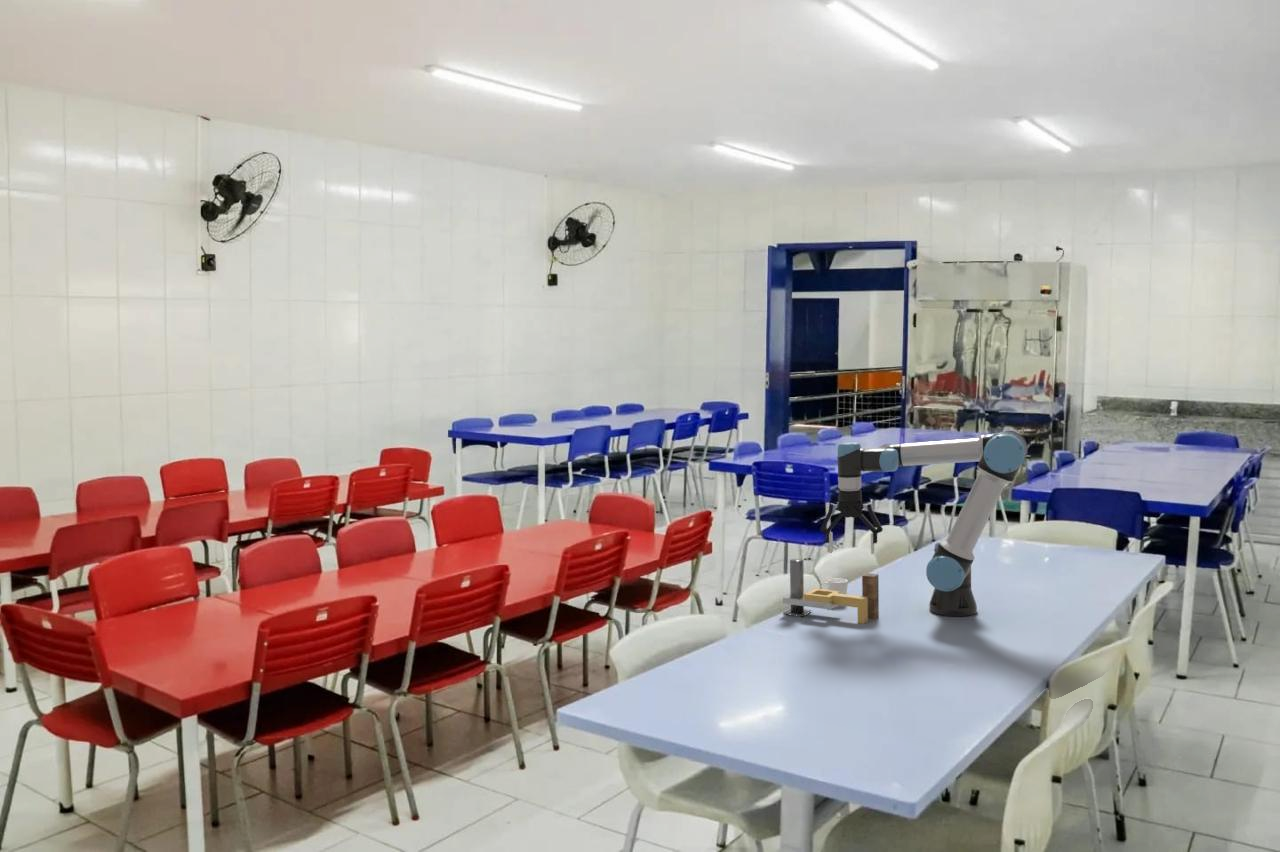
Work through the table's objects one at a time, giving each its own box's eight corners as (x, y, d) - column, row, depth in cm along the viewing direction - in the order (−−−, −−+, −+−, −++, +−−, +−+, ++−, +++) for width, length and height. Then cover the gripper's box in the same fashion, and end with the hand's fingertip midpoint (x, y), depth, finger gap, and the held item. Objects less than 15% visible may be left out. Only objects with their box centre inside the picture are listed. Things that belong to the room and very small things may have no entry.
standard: (841, 615, 349) (841, 561, 347) (831, 621, 341) (830, 566, 340) (793, 609, 358) (792, 556, 357) (781, 615, 351) (781, 561, 349)
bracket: (870, 619, 343) (870, 594, 343) (860, 625, 336) (860, 600, 335) (815, 612, 354) (815, 588, 353) (804, 618, 346) (803, 594, 346)
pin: (878, 616, 346) (878, 574, 345) (874, 619, 343) (873, 576, 342) (867, 615, 349) (866, 573, 348) (862, 617, 345) (862, 575, 344)
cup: (847, 606, 361) (846, 583, 360) (817, 604, 364) (817, 581, 363) (849, 601, 367) (849, 578, 367) (820, 599, 371) (820, 577, 370)
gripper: (889, 487, 348) (891, 551, 349) (814, 487, 356) (816, 549, 357) (887, 490, 341) (889, 555, 342) (810, 490, 349) (812, 554, 350)
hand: (851, 552), depth 350 cm, fingers open, 13 cm apart
